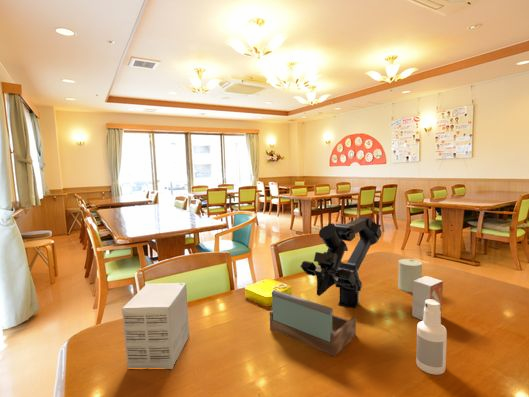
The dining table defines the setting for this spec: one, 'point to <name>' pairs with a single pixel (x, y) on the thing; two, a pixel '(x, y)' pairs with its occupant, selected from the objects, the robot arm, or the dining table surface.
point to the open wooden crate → (340, 338)
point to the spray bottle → (431, 340)
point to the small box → (426, 294)
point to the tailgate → (303, 315)
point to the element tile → (266, 291)
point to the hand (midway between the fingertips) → (318, 295)
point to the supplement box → (156, 325)
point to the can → (409, 273)
